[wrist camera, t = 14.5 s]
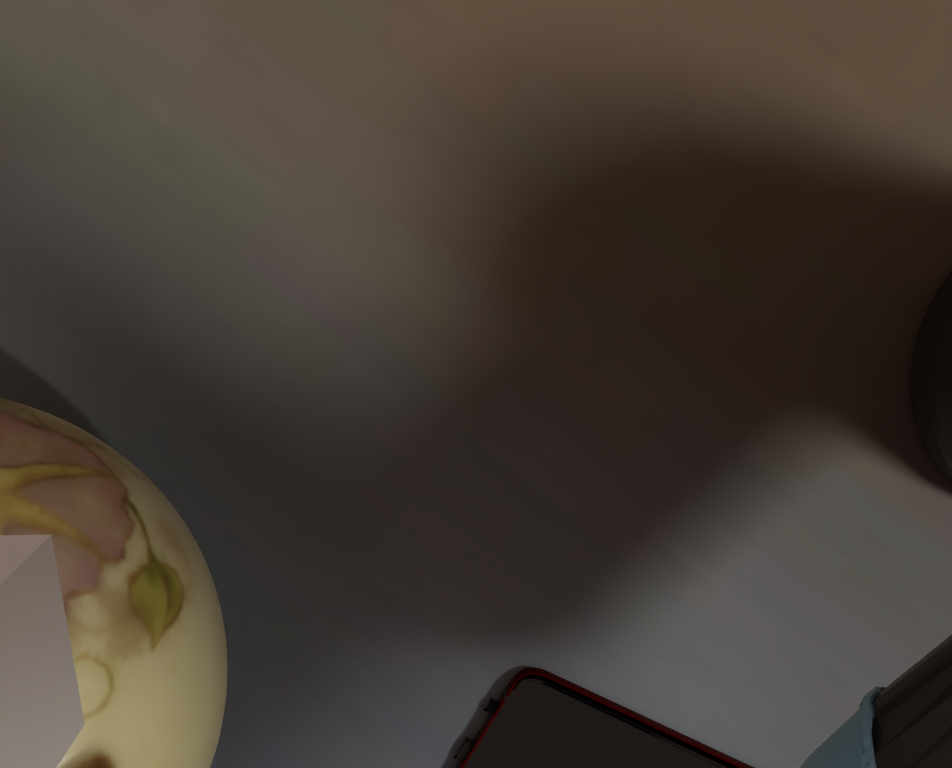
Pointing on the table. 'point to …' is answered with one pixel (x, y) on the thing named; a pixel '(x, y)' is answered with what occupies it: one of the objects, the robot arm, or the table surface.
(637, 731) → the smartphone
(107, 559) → the pitcher
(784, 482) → the table surface
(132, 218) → the table surface
